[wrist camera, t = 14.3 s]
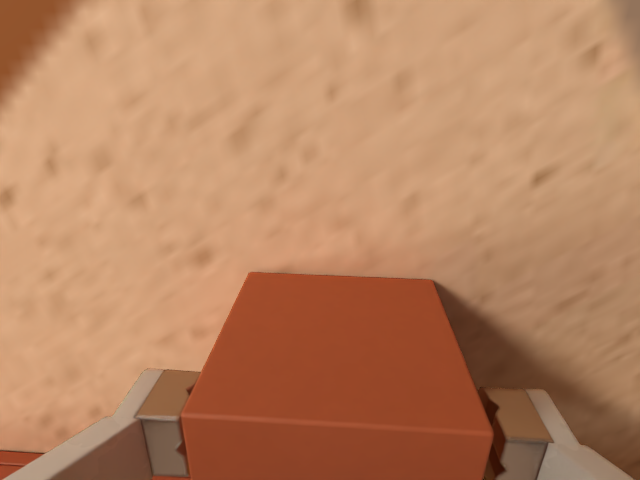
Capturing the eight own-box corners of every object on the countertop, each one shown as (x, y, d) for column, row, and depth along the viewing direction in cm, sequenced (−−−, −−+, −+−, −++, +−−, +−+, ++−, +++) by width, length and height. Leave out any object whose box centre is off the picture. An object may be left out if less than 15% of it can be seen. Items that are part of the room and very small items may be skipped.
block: (248, 270, 11) (178, 414, 6) (433, 278, 11) (496, 433, 6) (257, 408, 13) (208, 594, 8) (413, 418, 13) (450, 614, 8)
